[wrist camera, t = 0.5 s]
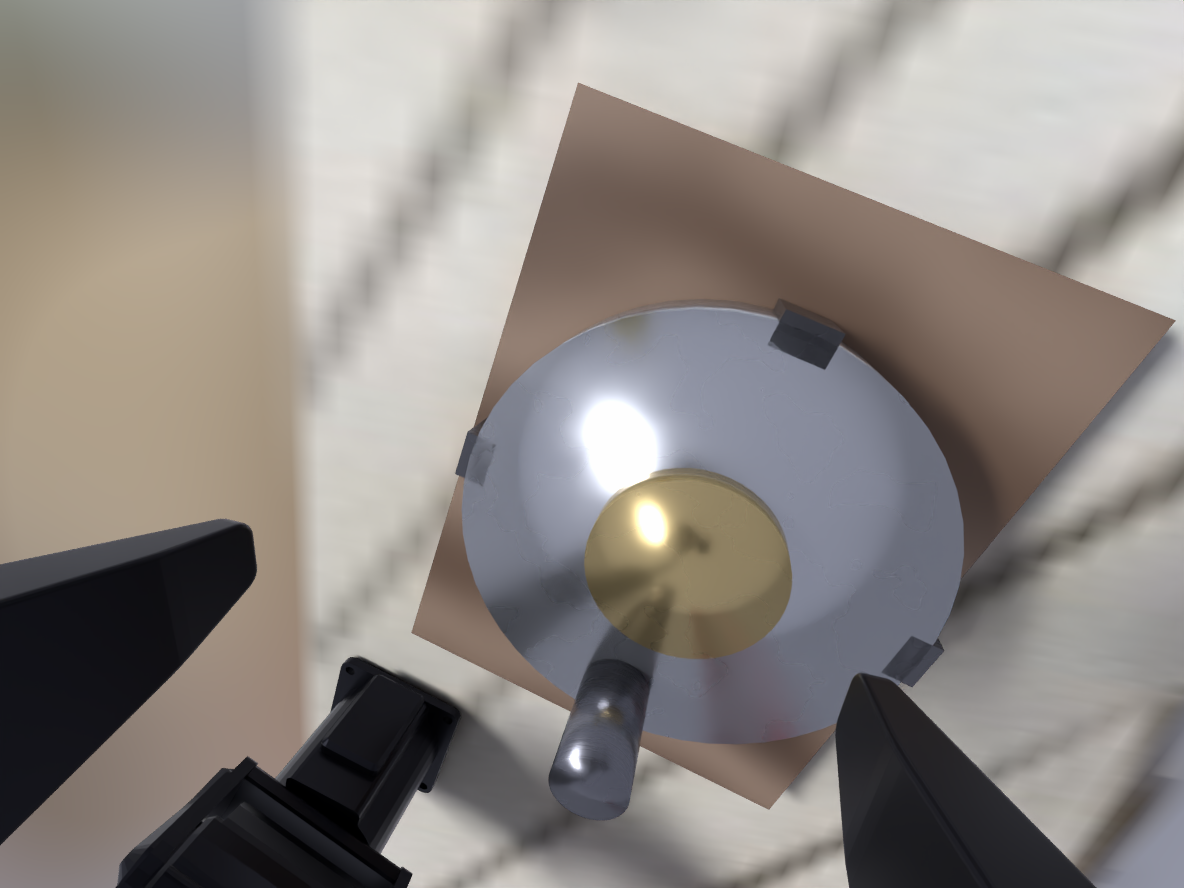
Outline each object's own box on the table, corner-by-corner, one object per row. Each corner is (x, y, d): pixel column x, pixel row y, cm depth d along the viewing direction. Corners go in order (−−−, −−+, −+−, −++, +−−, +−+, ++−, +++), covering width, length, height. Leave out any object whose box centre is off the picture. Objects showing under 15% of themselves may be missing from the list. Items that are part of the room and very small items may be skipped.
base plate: (767, 777, 25) (768, 809, 23) (428, 611, 26) (411, 632, 25) (1138, 312, 16) (1175, 320, 14) (591, 94, 17) (578, 82, 16)
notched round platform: (562, 207, 17) (469, 195, 11) (1064, 417, 16) (1263, 530, 10) (441, 587, 23) (341, 708, 17) (791, 757, 22) (811, 949, 16)
